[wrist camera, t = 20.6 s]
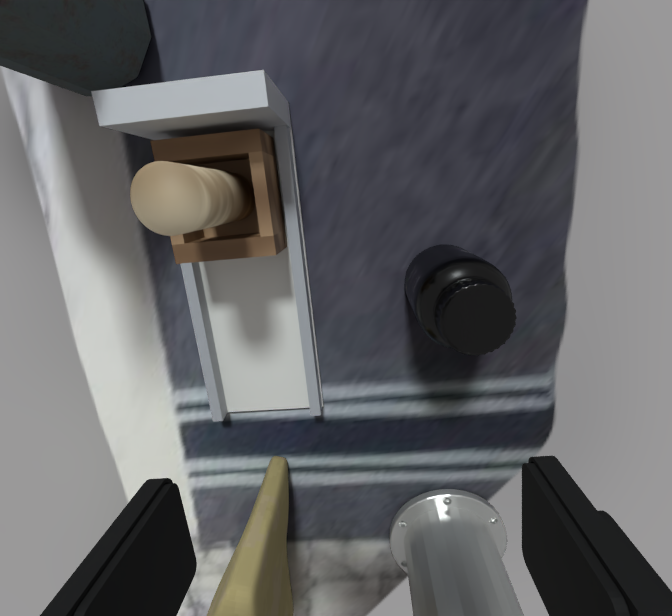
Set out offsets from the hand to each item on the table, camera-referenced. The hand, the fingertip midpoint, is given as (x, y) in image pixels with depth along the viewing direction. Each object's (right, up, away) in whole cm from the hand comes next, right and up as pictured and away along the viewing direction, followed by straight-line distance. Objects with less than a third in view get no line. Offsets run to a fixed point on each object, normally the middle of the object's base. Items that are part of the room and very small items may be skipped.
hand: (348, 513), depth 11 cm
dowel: (-9, +15, +23) cm, 29 cm away
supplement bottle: (+9, +8, +26) cm, 28 cm away
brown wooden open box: (-9, +15, +24) cm, 29 cm away
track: (-8, +9, +26) cm, 29 cm away
